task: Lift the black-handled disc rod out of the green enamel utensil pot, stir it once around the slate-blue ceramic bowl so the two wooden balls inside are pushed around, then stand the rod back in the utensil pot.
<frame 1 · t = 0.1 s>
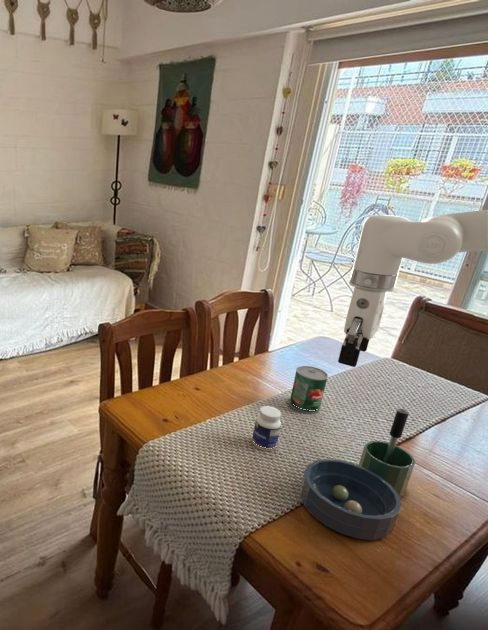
hand: (352, 356, 93), 28 cm above the table, tool pointing down, fingers open, 9 cm apart
pill bottle: (263, 445, 110), on the table
canned tomato: (304, 406, 127), on the table
ball a: (353, 508, 88), point 2 cm above the table, touching bowl
ball b: (340, 492, 92), point 2 cm above the table, touching bowl
bowl: (343, 509, 91), on the table
black-handled disc rod: (380, 481, 98), point 1 cm above the table, touching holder
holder: (379, 483, 98), on the table
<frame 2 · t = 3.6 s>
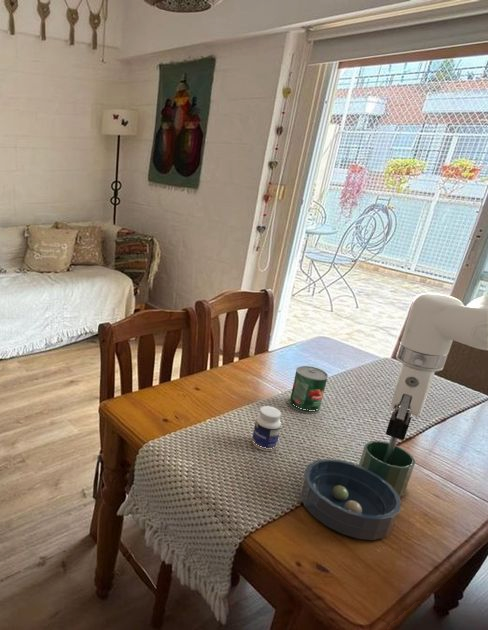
hand: (395, 433, 93), 13 cm above the table, tool pointing down, fingers closed on black-handled disc rod, 2 cm apart
black-handled disc rod: (380, 481, 98), point 1 cm above the table, touching gripper, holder
everything else where it was.
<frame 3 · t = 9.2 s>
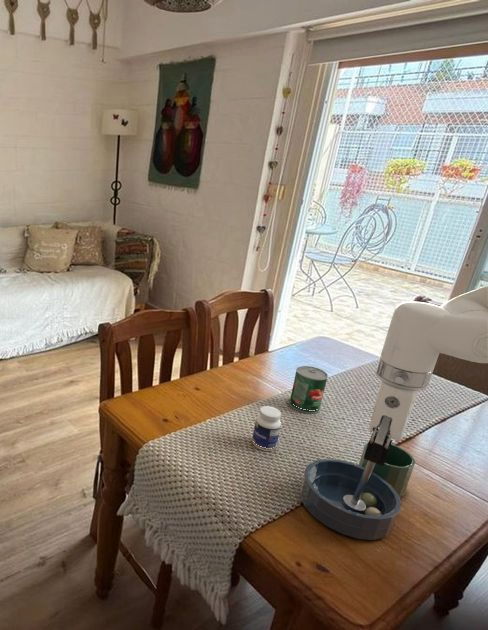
hand: (375, 457, 83), 15 cm above the table, tool pointing down, fingers closed on black-handled disc rod, 2 cm apart
ball a: (373, 515, 86), point 2 cm above the table, tilted 118°, touching bowl, black-handled disc rod
ball b: (368, 500, 90), point 2 cm above the table, tilted 165°, touching bowl
black-handled disc rod: (352, 506, 88), point 2 cm above the table, touching ball a, gripper
everything else where it was.
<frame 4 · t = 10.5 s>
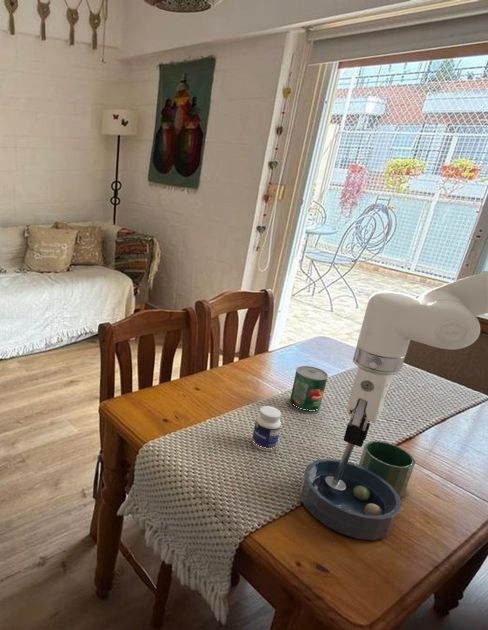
hand: (354, 439, 88), 15 cm above the table, tool pointing down, fingers closed on black-handled disc rod, 2 cm apart
ball a: (373, 511, 87), point 2 cm above the table, tilted 101°, touching bowl
ball b: (361, 493, 92), point 2 cm above the table, tilted 139°, touching bowl
black-handled disc rod: (333, 486, 93), point 2 cm above the table, touching gripper
everything else where it was.
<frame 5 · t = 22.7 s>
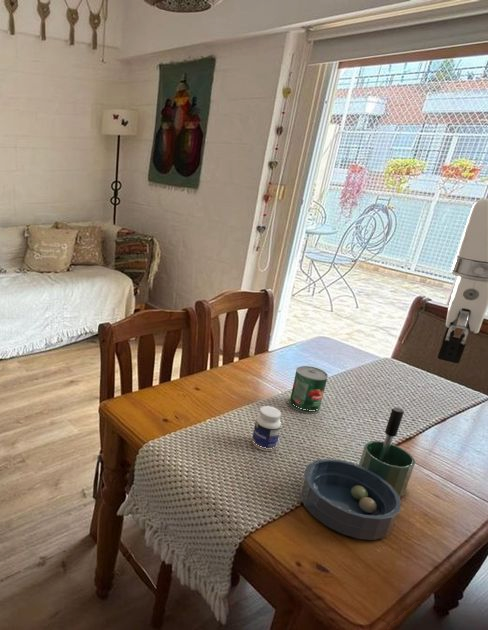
hand: (449, 352, 86), 32 cm above the table, tool pointing down, fingers open, 9 cm apart
ball a: (367, 504, 89), point 2 cm above the table, tilted 42°, touching bowl
ball b: (359, 493, 92), point 2 cm above the table, tilted 154°, touching bowl
black-handled disc rod: (375, 479, 98), point 1 cm above the table, touching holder
everything else where it was.
at the end: ball a moved 3.7 cm from its start; ball a inside the target area in the bowl (3.8 cm from its centre), point 2.3 cm above the bowl's base; black-handled disc rod 0.8 cm off-centre in the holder, point 0.6 cm above the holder's base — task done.
